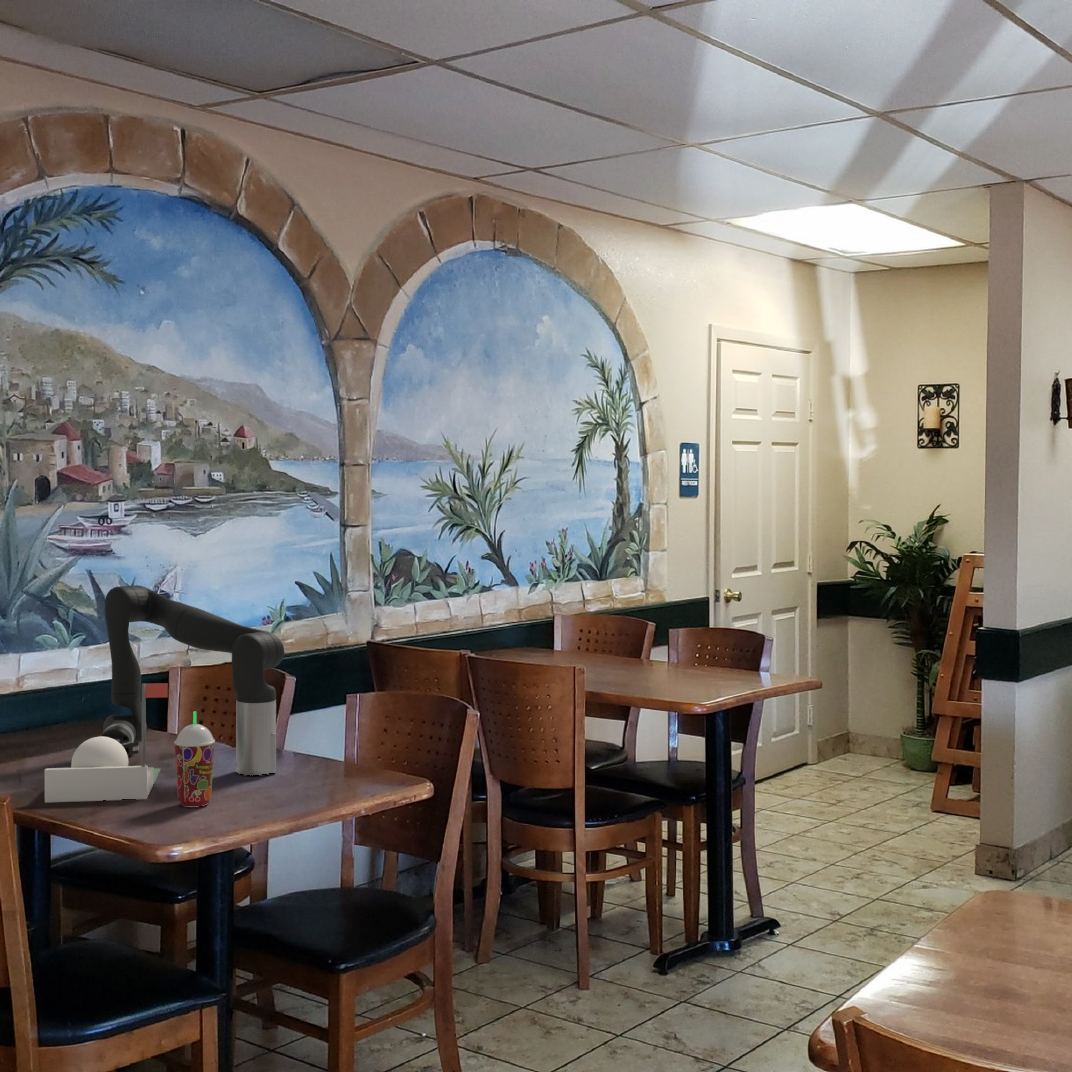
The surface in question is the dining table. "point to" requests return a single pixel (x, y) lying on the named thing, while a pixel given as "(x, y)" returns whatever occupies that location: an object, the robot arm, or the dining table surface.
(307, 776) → the dining table surface
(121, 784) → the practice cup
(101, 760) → the ball
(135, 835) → the dining table surface
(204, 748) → the smoothie
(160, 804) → the dining table surface
